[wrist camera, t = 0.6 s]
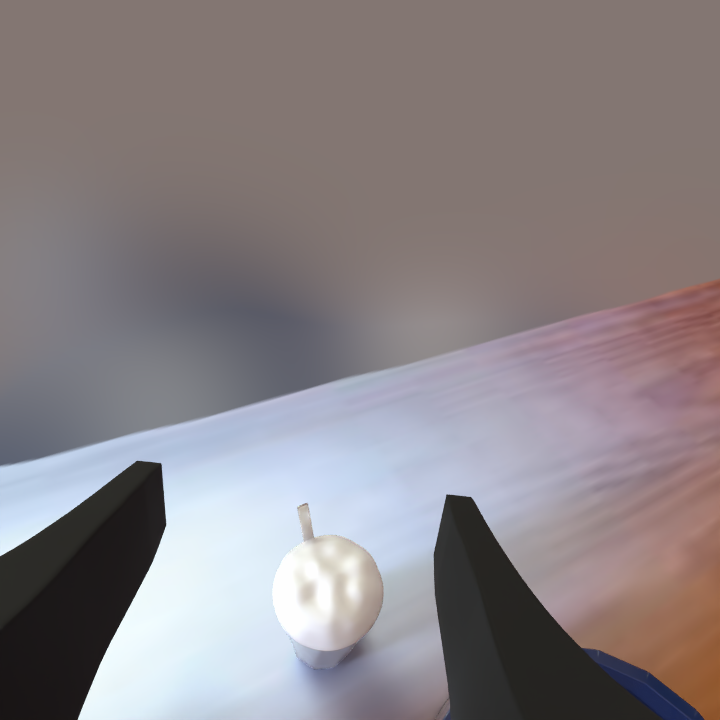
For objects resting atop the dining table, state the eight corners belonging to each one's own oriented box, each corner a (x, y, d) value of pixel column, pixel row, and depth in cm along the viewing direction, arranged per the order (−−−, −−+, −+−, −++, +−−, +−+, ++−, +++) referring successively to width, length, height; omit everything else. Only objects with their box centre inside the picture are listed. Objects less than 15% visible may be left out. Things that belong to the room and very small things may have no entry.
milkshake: (340, 564, 32) (352, 485, 24) (379, 661, 29) (408, 608, 21) (262, 596, 30) (249, 523, 23) (295, 701, 27) (294, 660, 20)
